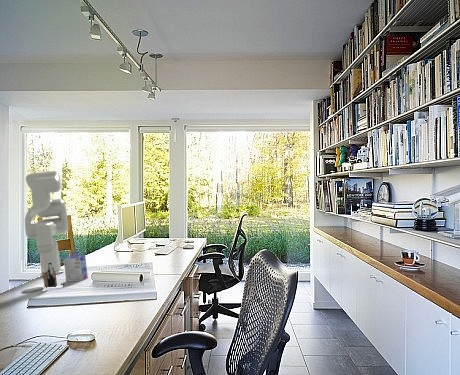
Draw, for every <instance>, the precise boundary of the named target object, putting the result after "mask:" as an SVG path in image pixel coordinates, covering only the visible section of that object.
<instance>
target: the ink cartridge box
mask: <svg viewBox="0 0 460 375" xmlns="http://www.w3.org/2000/svg"><path fill="white" fill-rule="evenodd" d="M63 266H64V274H65V281H67V282H66V283H68V281H69V282H81V281H84V280H88V279H89V277H88V276H89V274H88V269H87V268H88V266H87V259H86V255H85V254H84V255H79V251H71V256H67V257H65V258H63Z"/></svg>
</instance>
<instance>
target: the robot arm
mask: <svg viewBox="0 0 460 375" xmlns="http://www.w3.org/2000/svg"><path fill="white" fill-rule="evenodd" d="M25 182H26V184H27V186H28V188H29V189H30V191H31V199H32V200H31V201H32V206H30V208H29V209H28V211H27V212H26V214H25V215H24V216H25V217H24V230H25V235H26V237H27V238H28V239H29V240H30V239H31V240H32V239H33V240H34V239H35V240H36V247H37V254H39V259H40V261H39V262H40V271H41V273H40V276H41V277H43V272H44V273H46V272H47V276H48V279H47V280H48V286H49V287H51V286H55V278H54V273H53V271H55V272H56V275H59V273H60V274H62V273H64V272H65V269H62V267H61V260H60V253H59V244H58V241H57V240H56V238H54V236H55V235H62V234H66V233H68V231H69V219H68V212H67V207H66V202H65V201H64V199H60V198H57V199H52V198H51V193H58V192H59V191H60V190H61V188H62V187H61V186H62V183H61V175H60V173H59V172H58V171H55V170H52V171H41V172H40V171H39V172H33V173H29V174H27V175H26V176H25ZM36 216H37V217H39V218H44V219H39V220H38V221H37V222H36V223H32V220H33V218H34V217H36ZM50 217H54V218H50ZM48 271H50V272H48ZM63 271H64V272H63ZM61 272H62V273H61Z"/></svg>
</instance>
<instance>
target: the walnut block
mask: <svg viewBox="0 0 460 375" xmlns="http://www.w3.org/2000/svg"><path fill="white" fill-rule="evenodd" d="M48 272H50V271H48ZM42 273H43V276H42V277H43V278H42V279H43V285H44V286H43V287H46V288H47V287H49V286H48V280H47V279H48V276H47V272H46V273H44V272H42ZM53 273H54V278H55V286H51V287H56V286H57V284H58V282H57V274H56V272H55V271H53Z"/></svg>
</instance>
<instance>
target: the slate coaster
mask: <svg viewBox="0 0 460 375" xmlns="http://www.w3.org/2000/svg"><path fill="white" fill-rule="evenodd" d="M43 287H44V286H38V287H31V288H26V289H24V290H21V293H20V294H25V295H26V294H31V293H37V292H39V291H40V290H42V289H44V288H43Z"/></svg>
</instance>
